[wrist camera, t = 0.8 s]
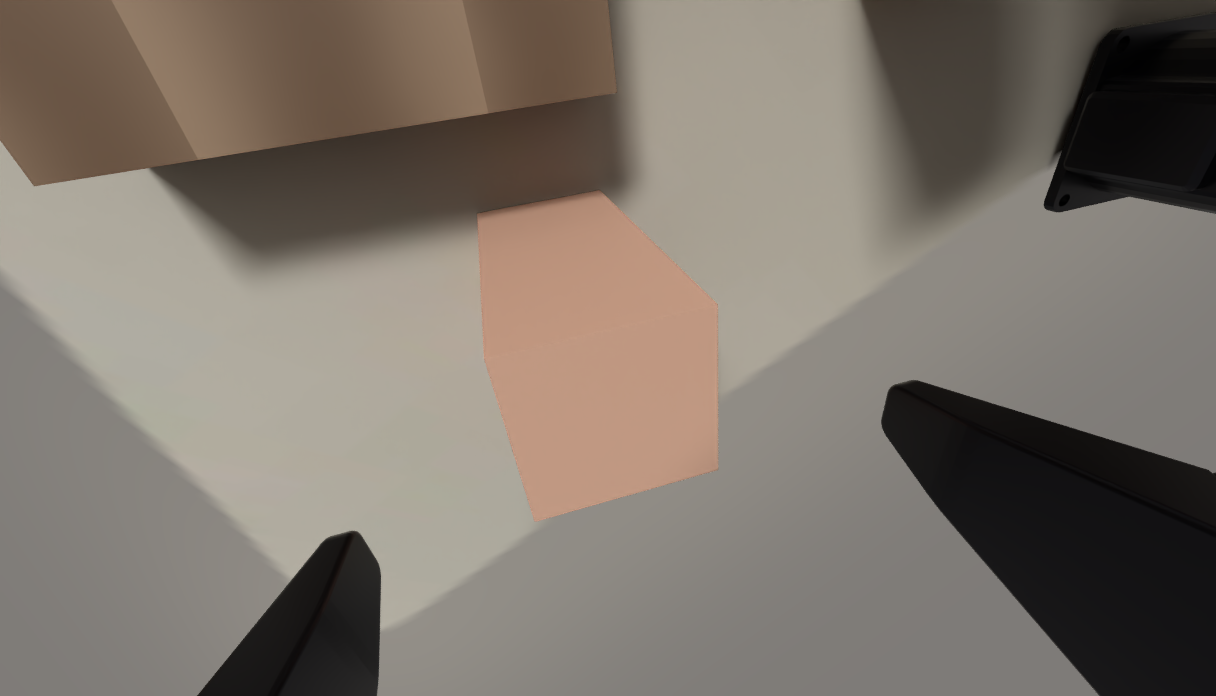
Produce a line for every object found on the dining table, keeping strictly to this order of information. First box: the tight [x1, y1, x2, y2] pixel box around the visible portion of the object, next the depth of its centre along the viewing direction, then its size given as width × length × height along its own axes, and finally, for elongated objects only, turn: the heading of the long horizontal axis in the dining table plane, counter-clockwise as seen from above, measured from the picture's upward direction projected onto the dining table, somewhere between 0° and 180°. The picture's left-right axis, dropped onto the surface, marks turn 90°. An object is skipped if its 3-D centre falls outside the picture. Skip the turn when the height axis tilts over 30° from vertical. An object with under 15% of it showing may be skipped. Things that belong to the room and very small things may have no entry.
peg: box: [477, 190, 718, 522], centre depth 13 cm, size 4×4×9 cm
